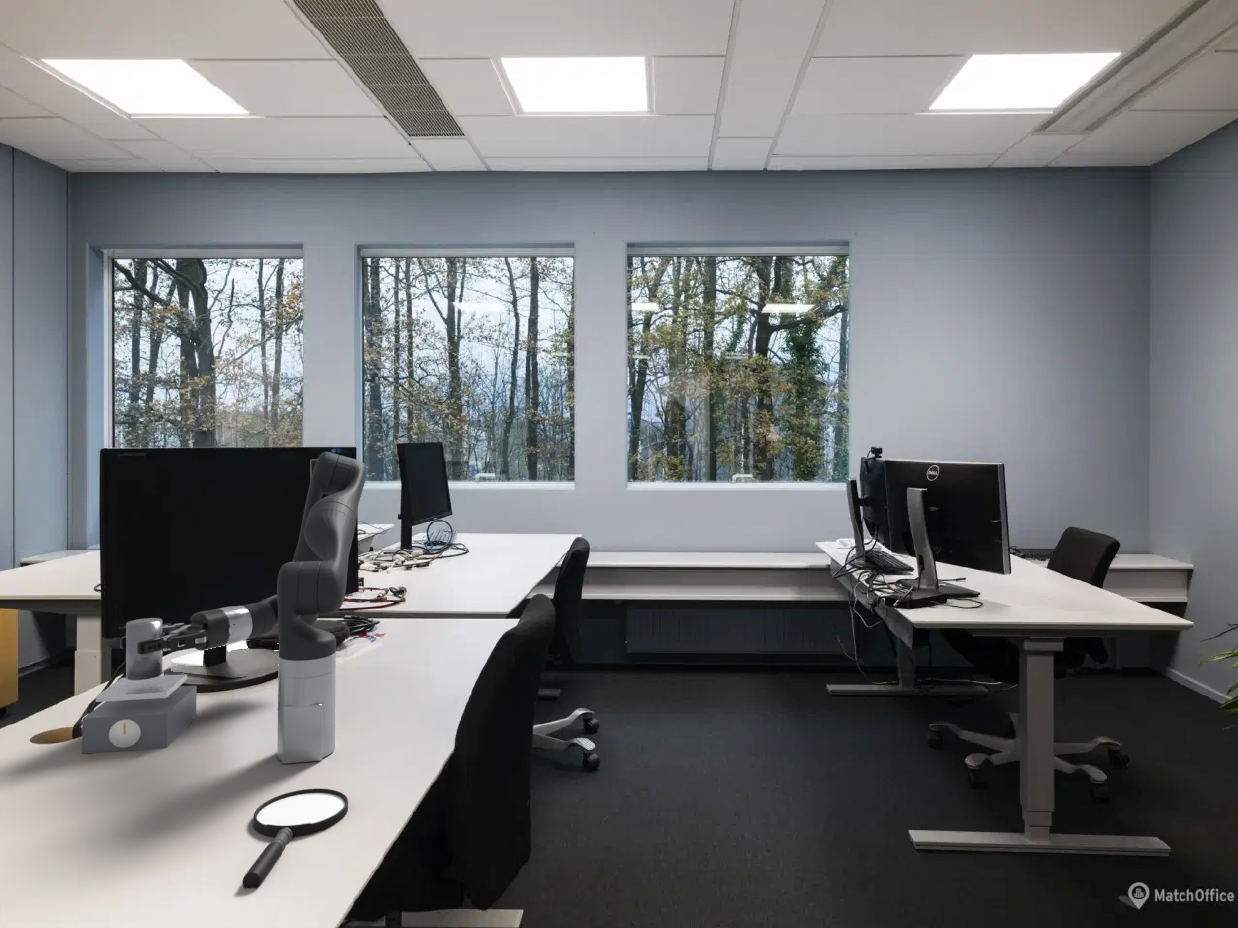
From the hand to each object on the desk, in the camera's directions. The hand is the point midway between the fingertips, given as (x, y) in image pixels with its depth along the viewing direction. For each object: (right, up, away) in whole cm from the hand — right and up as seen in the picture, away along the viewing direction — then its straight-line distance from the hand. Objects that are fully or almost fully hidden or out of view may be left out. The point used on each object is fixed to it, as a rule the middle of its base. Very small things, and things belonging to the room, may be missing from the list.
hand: (129, 646), depth 131 cm
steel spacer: (+1, -6, +2) cm, 7 cm away
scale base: (+1, -17, +2) cm, 17 cm away
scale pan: (+1, -9, +2) cm, 9 cm away
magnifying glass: (+44, -18, -33) cm, 58 cm away
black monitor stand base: (-6, -17, +48) cm, 52 cm away
